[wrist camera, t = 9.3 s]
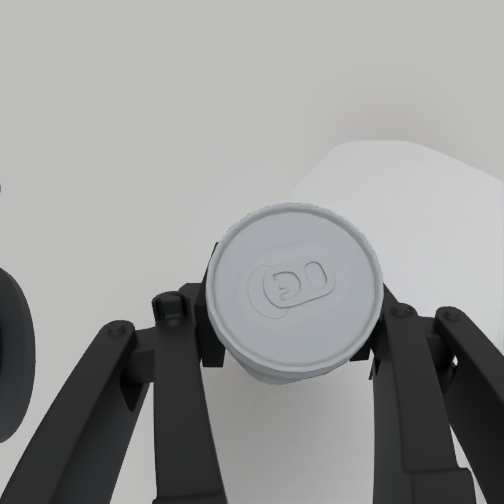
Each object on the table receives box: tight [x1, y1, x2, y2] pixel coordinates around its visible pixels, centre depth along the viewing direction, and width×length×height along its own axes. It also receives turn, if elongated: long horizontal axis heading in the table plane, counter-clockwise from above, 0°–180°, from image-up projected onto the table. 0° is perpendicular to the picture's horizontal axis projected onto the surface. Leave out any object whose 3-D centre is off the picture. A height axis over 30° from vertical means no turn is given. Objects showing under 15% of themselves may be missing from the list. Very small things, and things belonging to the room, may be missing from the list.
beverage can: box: [205, 203, 384, 385], centre depth 13 cm, size 5×5×12 cm
